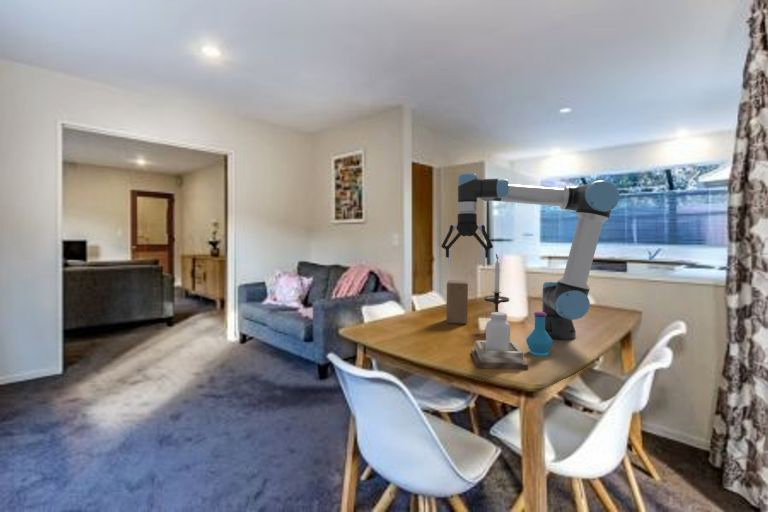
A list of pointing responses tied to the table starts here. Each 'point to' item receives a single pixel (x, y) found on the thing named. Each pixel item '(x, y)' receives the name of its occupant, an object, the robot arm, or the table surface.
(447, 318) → the wooden block
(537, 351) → the perfume bottle
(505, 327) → the pill bottle
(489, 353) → the bottle stand
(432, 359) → the table surface
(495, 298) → the candlestick
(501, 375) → the table surface
